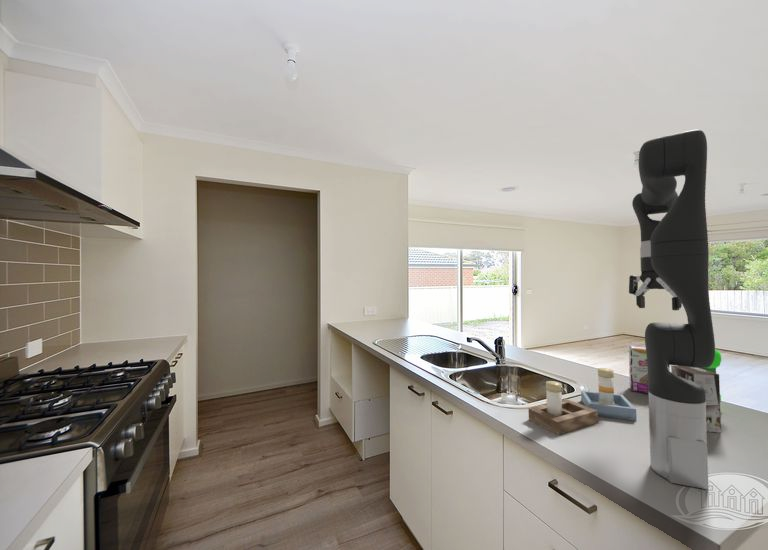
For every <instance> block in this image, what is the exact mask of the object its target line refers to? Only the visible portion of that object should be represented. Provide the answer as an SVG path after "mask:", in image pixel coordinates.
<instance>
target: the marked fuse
mask: <svg viewBox="0 0 768 550" xmlns="http://www.w3.org/2000/svg"><path fill="white" fill-rule="evenodd" d="M614 372H615V371H614V369H611V368H604V367H598V368H597V379H598V381H597V384H598V386H597V387H598V392H599V404H606V405H614V394H615V392H614V391H615V388H614V377H615V376H614Z"/></svg>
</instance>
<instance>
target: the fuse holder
mask: <svg viewBox="0 0 768 550" xmlns="http://www.w3.org/2000/svg"><path fill="white" fill-rule="evenodd" d="M598 418H599V416H598V411H597V410H594V409H592V408H589V407H587V406H584V404H582V403H578V402H576V401H573V400H570V399H568V398H565V399H562V416H559V417H555V416H552V415H550V414H548V413H547V403H544V404H540V405H537V406H536V405H535V406H532V407H528V421H530V420H531V422H532V421H533V422H532V423H534V422H535V424H536V423H537V425H538V424H539V426H540V425H541V426H540V427H542V426H543V427H542V428H544V427H545V428H544V429H546V430H548V431H550V432H552V433H554V434H556V435H557V436H558V435H562V434H565V433H568V432H571V431H574V430H578V429H581V428H585V427H588V426H591V425H593V424H597V423H599V419H598Z"/></svg>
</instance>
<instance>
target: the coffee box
mask: <svg viewBox="0 0 768 550" xmlns="http://www.w3.org/2000/svg"><path fill="white" fill-rule="evenodd" d="M670 367H671V368H670V372H671V373H673V374H675V375H677V376H679V377H681V378H684V379H687V380H690V381H692V382H695V383H697V384H699V385H700V386H702V387H703V388H704V390H705V394H706V429H707V433H709V432H710V433H719V434H721V432H722V421H721V420H722V419H721V418H722V417H721V402H720V395H721V389H720V374H719V373H717V372H716V373H713V372H711V371H708V370H705V369H702V368H698V367H687V366H677V365H670Z"/></svg>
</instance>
